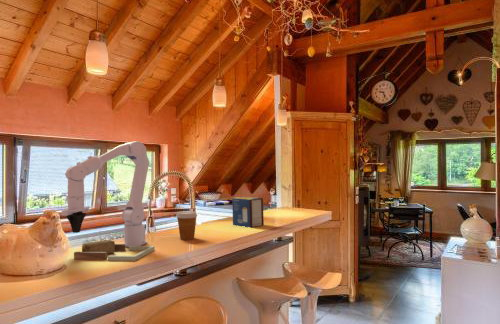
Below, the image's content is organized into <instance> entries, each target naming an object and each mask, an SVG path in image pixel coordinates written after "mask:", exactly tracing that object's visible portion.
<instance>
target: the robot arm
mask: <svg viewBox="0 0 500 324" xmlns="http://www.w3.org/2000/svg"><path fill="white" fill-rule="evenodd" d="M119 156H125V157H127V158H128V159H130V161H132V163H134V165H135V167H134V173H133V179H132V183H131V189H130V193H129V197H128V198H129V200H128V202H126V204H125V208H124V210H122V213H121V218H122V220H123V221H124V223H123V224H124V225H123V226H124V229H123V230H124V233H123V234H124V239H123V240H124V244H125V248H126V247H127V248H129V246H144V245H145V244H147V243H148V241H147V240H146V227H145V224H143V221H144V220H145V212H144V209H145V207H144V204H143V198H144V194H145V193H144V192H145V186H146V183H147V175H148V170H149V166H150V165H149V164H150V161H149V157H148V153H147V147H146V146H145V144H144V143H143V142H142V141H138V140H135V141H131V142H129V141H128V142H125V143H124V144H123V143H122V144H120V145H118V146H116V147H114V148H112V149H110V150H109V151H107V152H104V153H103V154H101V155H99V156H98V155H89V156H87V158H86V159H84V160H83V161H81V162H80V161H79V162H76V165H73V166H72V165H71V166H70V167H68V168H67V170H66V173H64V174H65V177H66V179H67V208H65V209H63V210H62V209H61V216H62V217H65V216H66V218H67V220H68V222H69V224H70V227H71V230H72V233H74V234H76V233H80V232H81V229H82V225H83V221H84V219H86V218H85V217H86V216H87V213H86V212H90V206H88V205H87V206H85V183H84V182H85V178H86V177H87V176H89V175H91V174H94V173H95V172H98V170H101V169H102V168H103V165H104V164H105V163H108V162H109V161H111V160H113V159H116V158H118V157H119Z"/></svg>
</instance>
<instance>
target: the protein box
mask: <svg viewBox="0 0 500 324" xmlns="http://www.w3.org/2000/svg"><path fill="white" fill-rule="evenodd" d="M231 198H232V199H231V201H232V225H233V226H237V225H238V227H242V226H245V227H244V228H248V227H251V228H256V227H255V226H257V227H262V226H261V225H265V223H264V219H265V217H264V198H263V197H255V196H239V197H231Z"/></svg>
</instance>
